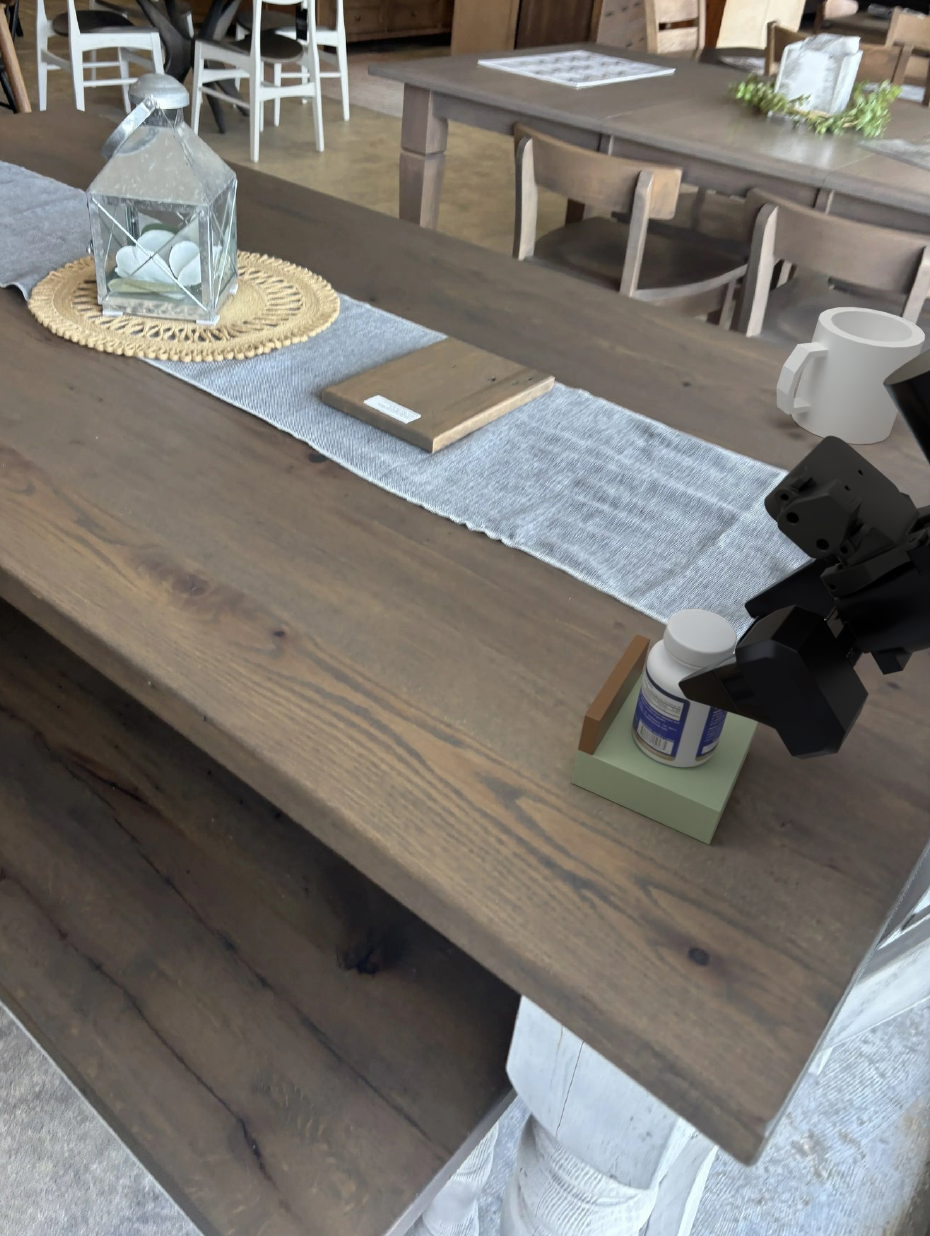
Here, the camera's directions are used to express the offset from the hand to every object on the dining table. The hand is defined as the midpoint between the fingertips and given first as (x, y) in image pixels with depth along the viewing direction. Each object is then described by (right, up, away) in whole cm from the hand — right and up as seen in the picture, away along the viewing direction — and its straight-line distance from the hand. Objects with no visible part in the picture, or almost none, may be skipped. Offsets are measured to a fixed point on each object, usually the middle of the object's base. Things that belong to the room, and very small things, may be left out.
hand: (717, 647), depth 58 cm
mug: (+26, +20, +49) cm, 59 cm away
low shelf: (-2, -8, +7) cm, 11 cm away
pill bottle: (-1, -6, +5) cm, 8 cm away
